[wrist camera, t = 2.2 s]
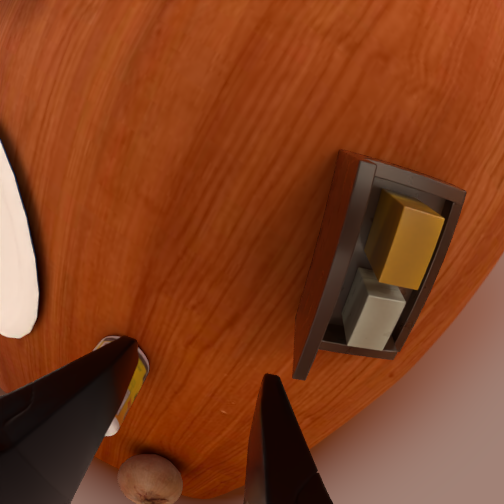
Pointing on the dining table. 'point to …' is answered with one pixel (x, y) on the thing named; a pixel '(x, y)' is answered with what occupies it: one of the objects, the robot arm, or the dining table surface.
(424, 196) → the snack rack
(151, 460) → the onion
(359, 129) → the dining table surface
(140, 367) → the supplement bottle
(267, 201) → the dining table surface
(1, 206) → the plate
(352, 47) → the dining table surface
